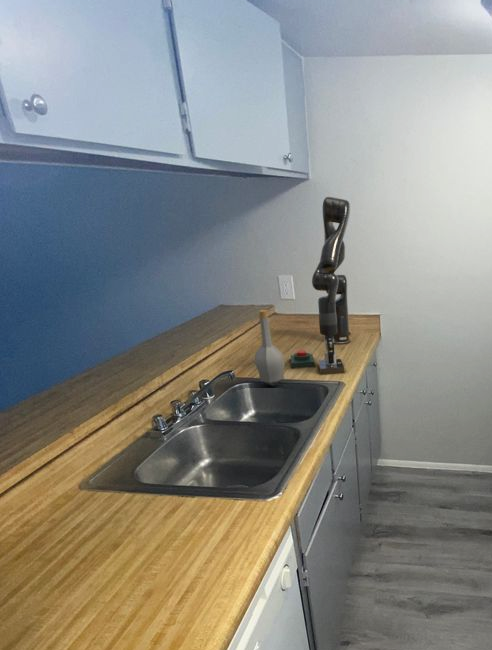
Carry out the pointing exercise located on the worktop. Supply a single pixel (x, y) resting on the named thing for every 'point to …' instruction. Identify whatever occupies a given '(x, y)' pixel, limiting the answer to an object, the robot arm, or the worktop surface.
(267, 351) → the bottle
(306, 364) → the dark green button base
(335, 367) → the dial panel
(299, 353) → the nozzle button
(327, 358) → the dial
